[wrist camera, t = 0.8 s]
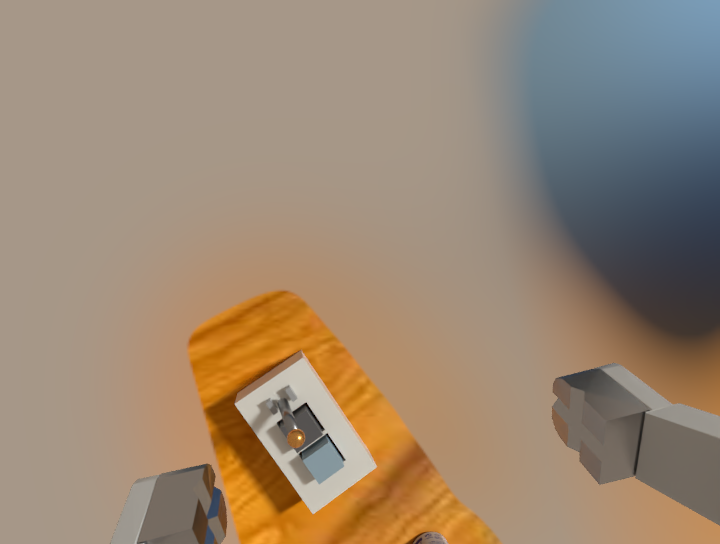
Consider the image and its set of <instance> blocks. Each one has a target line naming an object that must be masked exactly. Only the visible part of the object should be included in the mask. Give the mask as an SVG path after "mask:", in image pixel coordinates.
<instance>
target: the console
mask: <svg viewBox="0 0 720 544" xmlns="http://www.w3.org/2000/svg"><path fill="white" fill-rule="evenodd" d="M281 398H286V399H287V400H288V402H289V405H290V407H291V410H292V412H293V411H294V410H295V409H297V408H298V407H300V406H301V405H303V404H304V403H307V404H308V405H309V407H310V408H311V410H312V411H313V413H314V414H315V416H316V417H317V419H318V420H319V422H320V423H321V424H322V426H323V427H324V428H322V433H323V435H322V436H321V437H323V436H324V435H325V434H327V433H328V435H329V436H330V438H331V439H332V440H333V442H334V443H335V445H336V446H337V448H338V449H339V451H340V452H341V454H342V455H343V457H344V458H343V459H342V460H343V463H344V467H343V468H341V469H340V470H339V471H337V472H336V473H335V474H333V475H332V476H330V477H329V478H328V479H326V480H325V481H324V482H322V483H321V484H320V485H319V484H318V482H317V481H316V479H315V478H314V477H313V475H312V474H311V472H310V471H309V469H308V468H307V467H306V465H305V464H304V462H303V460H302V456H301V455H300V452H302V451H303V450H304V449H306V448H307V447H309V446H310V445H311V444H313V443H314V442H316V441H317V440H318V439H320V438H321V437H319V438H318V439H316V440H315V441H314V442H312V443H311V444H309V445H308V446H307V447H305V448H304V449H302V450H301V451H300V452H298V453H297V452H296V451H295V450H294V448H293V447H291V446H290V445H289V444H288V442H287V438H286V437H285V435H284V434H283V432H282V431H281V430H280V425H279V423H278V421H280V420H281V419H282V416H281V413H280V411H279V408H278V405H277V403H278V400H279V399H281ZM235 406H236V407H237V409H238V410H239V411H240V413H241V414H242V416H243V417H244V418H245V420H246V421H247V423H248V424H249V425H250V427H251V428H252V430H253V431H254V432H255V434H256V435H257V437H258V438H259V439H260V441H261V442H262V444H263V445H264V446H265V448H266V449H267V451H268V452H269V453H270V455H271V456H272V458H273V459H274V460H275V462H276V463H277V465H278V466H279V467H280V469H281V470H282V472H283V473H284V474H285V476H286V477H287V479H288V480H289V481H290V483H291V484H292V486H293V487H294V488H295V490H296V491H297V493H298V494H299V495H300V497H301V498H302V500H303V501H304V502H305V504H306V505H307V507H308V508H309V509H310V511H311V512H312V514H314V513H316V512H317V511H318V510H320V509H321V508H322V507H324V506H325V505H326V504H328V503H329V502H330V501H332V500H333V499H334V498H336V497H337V496H338V495H340V494H341V493H343V492H344V491H345V490H347V489H348V488H349V487H351V486H352V485H353V484H355V483H356V482H357V481H359V480H360V479H361V478H363V477H364V476H366V475H367V474H368V473H370V472H371V471H372V470H374V469H375V468H376V467H377V466H376V464H375V462H374V460H373V458H372V455H371V453H370V451H369V450H368V448H367V447H366V445H365V444H364V443H363V441H362V440H361V438H360V437H359V435H358V434H357V432H356V431H355V429H354V428H353V426H352V425H351V423H350V422H349V420H348V419H347V417H346V416H345V414H344V413H343V411H342V410H341V408H340V407H339V405H338V404H337V402H336V401H335V399H334V398H333V396H332V395H331V394H330V392H329V391H328V389H327V388H326V386H325V385H324V383H323V382H322V380H321V379H320V377H319V376H318V374H317V373H316V371H315V370H314V368H313V367H312V365H311V364H310V362H309V361H308V359H307V358H306V356H305V355H304V353H303V352H302V350H300V351H299V352H297V353H296V354H294V355H293V356H291V357H290V358H289V359H287V360H286V361H284V362H283V363H281V364H280V365H278V366H277V367H275V368H274V369H272V370H271V371H269V372H268V373H266V374H265V375H263V376H262V377H260V378H259V379H257V380H256V381H254V382H253V383H251V384H250V385H248V386H247V387H245V388H244V389H242V390H241V391H240V392H238V393H237V397H236V400H235Z"/></svg>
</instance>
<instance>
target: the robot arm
mask: <svg viewBox="0 0 720 544" xmlns="http://www.w3.org/2000/svg"><path fill="white" fill-rule="evenodd" d="M553 393H554V394H555V395H556V396H557V397H558V399H557V401H556V402H555V403H554V405H553V406H552V419H553V423H554V426H555V429H556V431H557V433H558V435H559V436H560V438H561V439H562V441H563V442H564V443H565V444H566V446H567V447H569V448H572V449H574V450H576V451H578V452H580V462H581V463H582V465H583V466H584V467H585V468H586V469H587V471H588V472H589V473H590V474H591V475H592V476H593V478H594V479H595V480H596V481H597V482H598V484H605V483H608V482H613V481H617V480H621V479H625V478H629V477H633V476H636V479H638V480H640V481H642V482H643V483H645V484H647V485H649V486H650V487H652V488H654V489H656V490H658V491H659V492H661V493H663V494H665V495H666V496H668V497H670V498H672V499H674V500H675V501H677V502H679V503H681V504H682V505H684V506H686V507H688V508H690V509H692V510H693V511H695V512H697V513H698V514H700V515H702V516H704V517H706V518H707V519H709V520H711V521H713V522H715V523H716V524H718V525H720V416H717V415H714V414H711V413H708V412H705V411H702V410H699V409H695V408H692V407H689V406H686V405H683V404H675V405H673V404H671V403H670V402H669V401H667V400H666V399H665V398H663V397H662V396H661V395H659V394H658V393H657V392H655V391H654V390H653V389H652V388H650V387H649V386H648V385H646V384H645V383H644V382H642V381H641V380H640V379H639V378H637V377H636V376H635V375H633V374H632V373H631V372H629V371H628V370H627V369H626V368H624V367H623V366H622V365H619V364H616V363H612V364H608V365H605V366H601V367H597V368H594V369H590V370H586V371H582V372H578V373H574V374H571V375H566V376H562V377H559V378H556V379H555V381H554V383H553ZM214 482H215V473H214V471H213V469H212V467H211V465H210V464H203V465H199V466H194V467H190V468H186V469H181V470H176V471H171V472H167V473H162V474H161V475H156V476H152V477H147V478H142V479H138V480H137V481H136V482H135V483H134V484H133V485H132V487H131V490H130V493H129V495H128V498H127V501H126V503H125V506H124V508H123V511H122V514H121V517H120V519H119V521H118V524H117V527H116V529H115V532H114V535H113V537H112V540H111V543H110V544H221V542H222V541H223V540H224V538H225V537H226V528H227V515H226V506H225V501H224V497H223V494H222V492H221V490H219V489H218V488H216V487H214Z"/></svg>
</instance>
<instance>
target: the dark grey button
mask: <svg viewBox="0 0 720 544" xmlns="http://www.w3.org/2000/svg"><path fill="white" fill-rule="evenodd" d="M293 415H294V417H295V420H296V422H297V425H298V427H299V429H300V430H302V431H303V432H304V434H305V442H304V444H303V445H302V446H301V447H299V448H294V450H295V451H296V452H297V453H298V452H300V451H301V450H302V449H304V448H305V447H307V446H308V445H309V444H311V443H312V442H314V441H315V440H316V439H318V438H319V437H321V436H322V435H323V433H322V429H321V426H320V425H319V423H318V422H317V420H316V419H315V417H314V416H313V414H312V413H311V411H310V410H309V409H308V407H307V406H306V404H303V405H302V406H300V407H299V408H297V409H296V410H295V411H293ZM280 430H281V431H282V432H283V434H284V435H285V437H286V438H287V436H288V433H287V430H286V427H285V424H284V422H283V419H282V420H280Z"/></svg>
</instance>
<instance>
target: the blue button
mask: <svg viewBox="0 0 720 544" xmlns="http://www.w3.org/2000/svg"><path fill="white" fill-rule="evenodd" d="M302 460H303V462H304V464H305V465H306V467H307V468H308V469H309V471H310V472H311V474H312V475H313V477H314V478H315V479H316V481H317V482H318V484H319V485H320V484H321V483H322V482H324V481H325V480H326V479H328V478H329V477H330V476H332V475H333V474H335V473H336V472H337V471H339V470H340V469H341V468H343V467H344V463H343V460H342V457H341V455H340V454H339V452H338V451H337V449H336V448H335V446H334V445H333V444H332V442H331V441H330V439H329V438H328V436H327V435H326V434H325V435H324V436H323V437H321V438H320V439H318V440H317V441H316V442H314V443H313V444H311V445H310V446H309V447H307V448H306V449H304V450H303V451H302Z"/></svg>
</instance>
